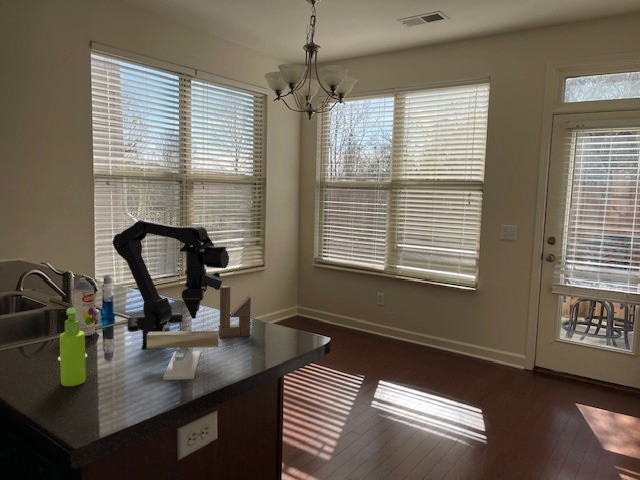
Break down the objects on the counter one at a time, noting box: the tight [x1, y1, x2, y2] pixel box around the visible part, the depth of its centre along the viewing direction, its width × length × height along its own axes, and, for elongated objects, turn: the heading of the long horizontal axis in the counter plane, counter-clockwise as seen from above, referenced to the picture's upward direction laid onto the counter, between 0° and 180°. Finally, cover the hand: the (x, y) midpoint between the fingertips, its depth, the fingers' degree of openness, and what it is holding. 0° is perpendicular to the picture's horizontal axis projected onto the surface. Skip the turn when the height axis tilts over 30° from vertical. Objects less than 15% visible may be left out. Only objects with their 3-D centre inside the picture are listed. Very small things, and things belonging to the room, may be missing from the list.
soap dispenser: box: [59, 307, 87, 387], centre depth 125 cm, size 6×7×20 cm
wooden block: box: [218, 285, 252, 339], centre depth 170 cm, size 4×11×18 cm, turn 109°
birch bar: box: [147, 330, 220, 350], centre depth 139 cm, size 3×20×4 cm, turn 98°
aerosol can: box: [71, 277, 96, 337], centre depth 166 cm, size 7×7×20 cm
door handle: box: [127, 312, 183, 332], centre depth 180 cm, size 3×20×16 cm
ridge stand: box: [162, 348, 202, 381], centre depth 140 cm, size 8×20×6 cm, turn 9°
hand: (195, 314), depth 152 cm, fingers open, 9 cm apart
